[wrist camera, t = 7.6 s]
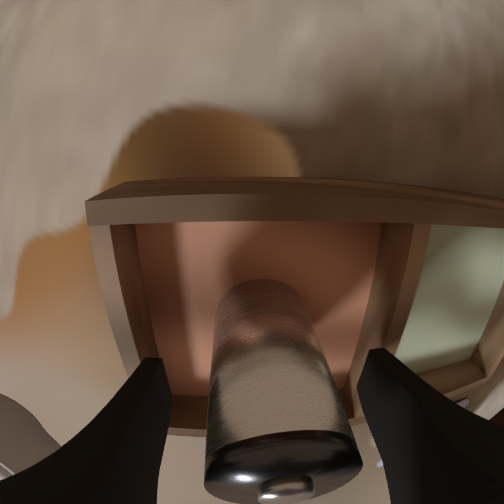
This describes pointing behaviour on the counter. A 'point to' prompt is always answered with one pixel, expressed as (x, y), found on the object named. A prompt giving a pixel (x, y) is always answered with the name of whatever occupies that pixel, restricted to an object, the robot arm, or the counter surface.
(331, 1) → the counter surface
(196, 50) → the counter surface
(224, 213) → the sorting tray
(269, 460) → the cell
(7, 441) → the lumpy-topped squat cylinder
